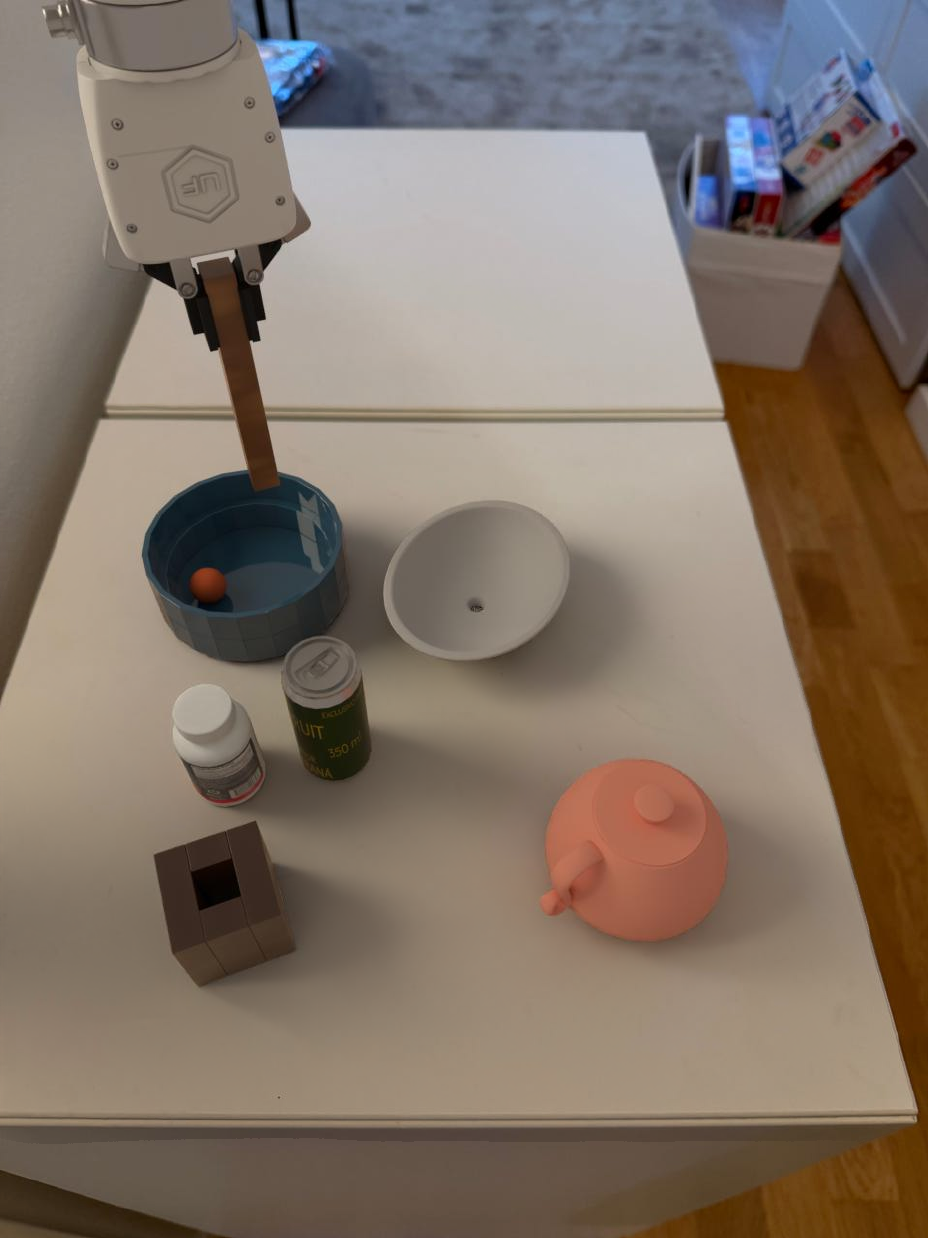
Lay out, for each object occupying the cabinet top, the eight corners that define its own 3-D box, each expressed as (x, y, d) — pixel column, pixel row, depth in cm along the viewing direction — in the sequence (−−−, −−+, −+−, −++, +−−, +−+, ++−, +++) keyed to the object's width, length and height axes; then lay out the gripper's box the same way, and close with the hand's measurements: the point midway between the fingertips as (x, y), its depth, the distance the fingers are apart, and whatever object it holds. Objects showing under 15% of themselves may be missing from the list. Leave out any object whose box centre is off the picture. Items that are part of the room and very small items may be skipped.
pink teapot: (752, 892, 64) (796, 831, 56) (592, 1003, 60) (614, 955, 52) (642, 759, 70) (667, 686, 62) (489, 850, 66) (494, 785, 58)
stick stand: (197, 987, 60) (171, 953, 54) (178, 894, 64) (152, 854, 58) (296, 950, 62) (281, 914, 56) (272, 862, 65) (255, 819, 60)
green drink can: (335, 711, 73) (318, 620, 63) (386, 749, 71) (377, 661, 61) (287, 758, 70) (261, 670, 61) (338, 799, 68) (320, 715, 59)
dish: (501, 725, 72) (505, 691, 68) (348, 649, 76) (343, 613, 72) (596, 575, 81) (604, 537, 77) (455, 515, 86) (455, 476, 82)
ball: (197, 614, 78) (189, 592, 75) (190, 588, 79) (182, 565, 77) (232, 604, 78) (226, 582, 76) (225, 579, 80) (218, 556, 77)
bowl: (181, 689, 74) (161, 642, 69) (148, 547, 83) (127, 496, 78) (372, 633, 77) (367, 584, 72) (320, 502, 86) (312, 450, 81)
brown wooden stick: (254, 492, 70) (202, 279, 56) (248, 474, 71) (196, 262, 57) (280, 485, 70) (235, 273, 56) (274, 468, 72) (228, 255, 57)
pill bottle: (194, 749, 70) (162, 679, 63) (265, 739, 71) (242, 668, 63) (194, 814, 67) (160, 748, 59) (268, 803, 68) (244, 737, 60)
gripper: (-5, 75, 42) (116, 397, 56) (335, 25, 45) (364, 341, 60) (-16, 11, 46) (99, 327, 61) (295, -30, 49) (332, 278, 64)
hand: (230, 332), depth 60 cm, fingers closed on brown wooden stick, 2 cm apart
